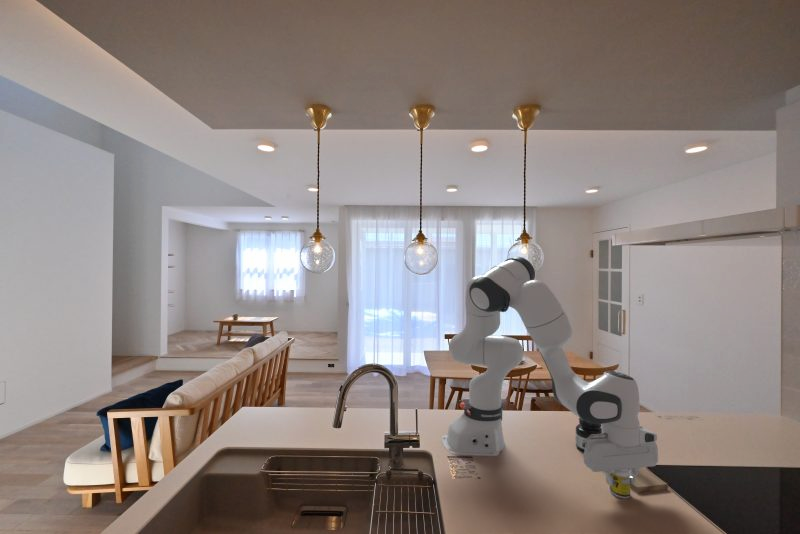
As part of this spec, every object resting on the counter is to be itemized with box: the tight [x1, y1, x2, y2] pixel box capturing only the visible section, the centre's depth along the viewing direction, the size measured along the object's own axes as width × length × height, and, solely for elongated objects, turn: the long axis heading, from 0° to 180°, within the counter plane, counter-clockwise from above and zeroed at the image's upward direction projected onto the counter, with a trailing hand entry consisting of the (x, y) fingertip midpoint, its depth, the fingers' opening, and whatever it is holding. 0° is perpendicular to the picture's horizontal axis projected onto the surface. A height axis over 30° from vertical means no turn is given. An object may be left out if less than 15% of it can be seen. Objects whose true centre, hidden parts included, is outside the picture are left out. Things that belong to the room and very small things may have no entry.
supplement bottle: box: [609, 469, 631, 499], centre depth 93 cm, size 5×5×8 cm
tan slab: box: [628, 467, 669, 494], centre depth 99 cm, size 10×10×2 cm
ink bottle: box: [575, 417, 602, 453], centre depth 117 cm, size 10×9×12 cm
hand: (620, 483), depth 93 cm, fingers closed on supplement bottle, 5 cm apart
